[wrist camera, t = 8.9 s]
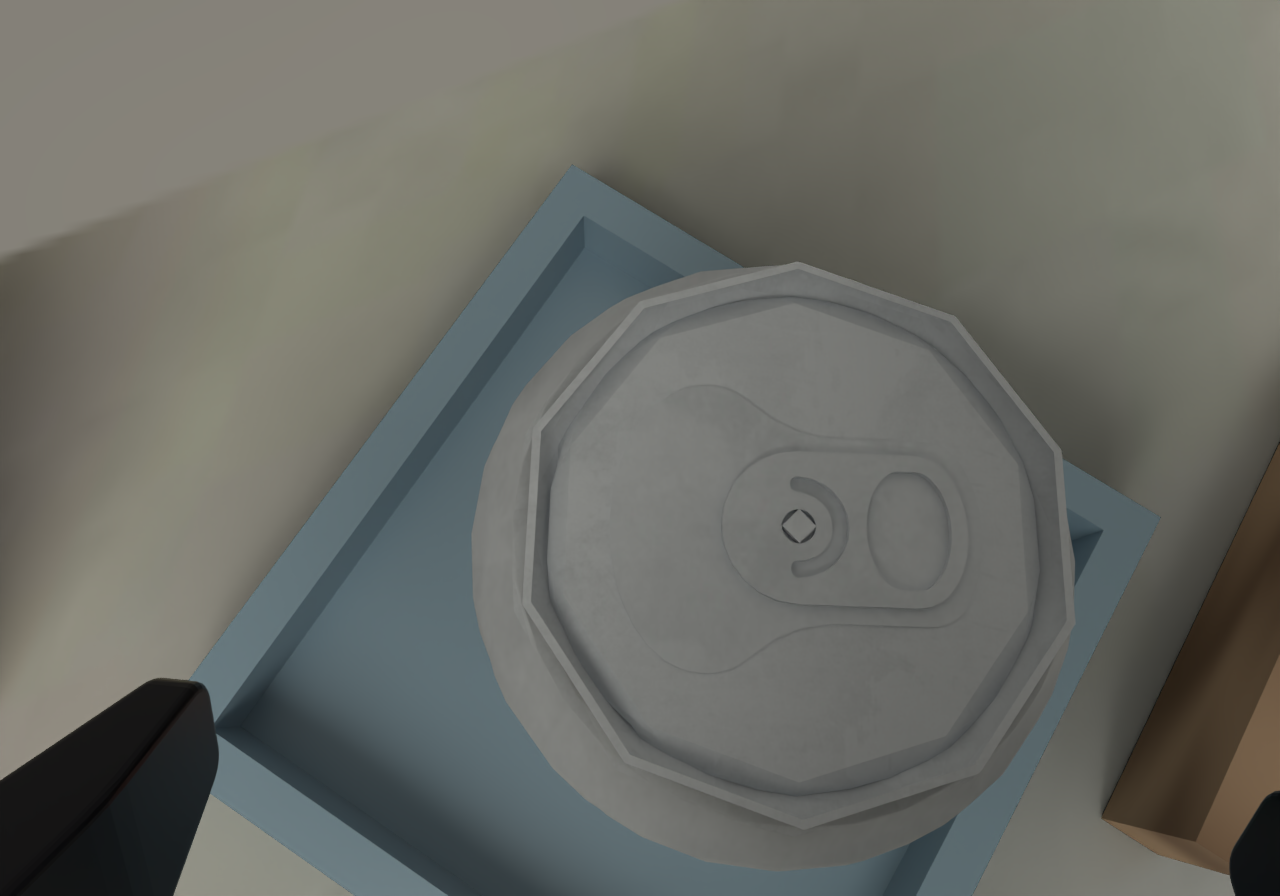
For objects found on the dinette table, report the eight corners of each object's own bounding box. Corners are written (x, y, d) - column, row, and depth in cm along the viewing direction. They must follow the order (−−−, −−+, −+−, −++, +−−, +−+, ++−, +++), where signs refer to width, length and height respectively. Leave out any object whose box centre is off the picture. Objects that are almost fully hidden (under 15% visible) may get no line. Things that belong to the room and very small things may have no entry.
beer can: (552, 502, 19) (478, 194, 7) (795, 512, 19) (1109, 226, 7) (538, 760, 18) (424, 890, 6) (797, 768, 18) (1176, 910, 6)
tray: (786, 1158, 17) (810, 1218, 15) (190, 739, 18) (140, 744, 16) (1105, 534, 20) (1161, 517, 18) (574, 212, 21) (572, 164, 19)
